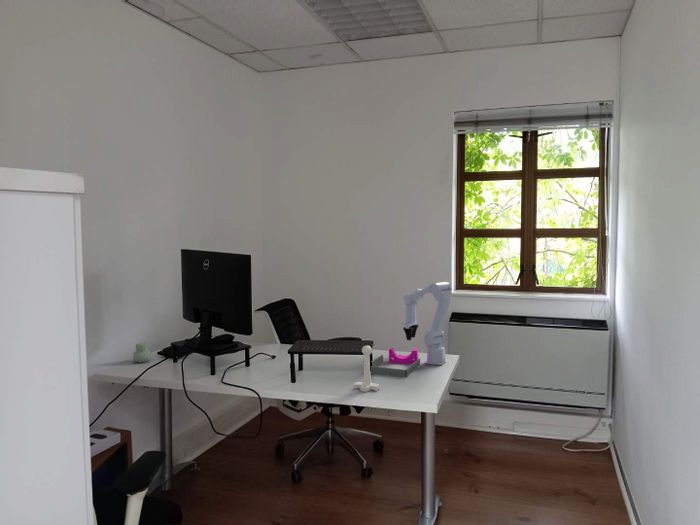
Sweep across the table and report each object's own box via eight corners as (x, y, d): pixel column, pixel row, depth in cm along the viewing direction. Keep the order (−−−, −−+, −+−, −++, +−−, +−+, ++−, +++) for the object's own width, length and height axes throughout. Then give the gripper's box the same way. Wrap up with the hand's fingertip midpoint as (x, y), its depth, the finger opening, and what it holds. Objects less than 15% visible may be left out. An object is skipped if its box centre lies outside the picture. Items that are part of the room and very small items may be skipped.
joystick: (380, 388, 244) (380, 345, 242) (375, 393, 236) (374, 349, 235) (357, 386, 247) (356, 343, 246) (351, 391, 240) (351, 347, 239)
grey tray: (420, 365, 280) (420, 358, 280) (406, 377, 260) (406, 370, 259) (381, 361, 289) (381, 354, 289) (365, 372, 269) (365, 365, 268)
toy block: (418, 361, 288) (418, 348, 288) (416, 364, 282) (416, 351, 281) (390, 360, 292) (390, 346, 291) (388, 363, 286) (388, 349, 285)
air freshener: (148, 363, 290) (147, 345, 289) (132, 364, 288) (131, 346, 287) (151, 358, 300) (150, 340, 300) (135, 359, 299) (135, 341, 298)
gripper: (408, 312, 307) (408, 335, 309) (399, 316, 294) (400, 340, 295) (419, 313, 304) (419, 336, 306) (412, 317, 291) (412, 342, 292)
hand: (410, 338), depth 300 cm, fingers open, 7 cm apart
